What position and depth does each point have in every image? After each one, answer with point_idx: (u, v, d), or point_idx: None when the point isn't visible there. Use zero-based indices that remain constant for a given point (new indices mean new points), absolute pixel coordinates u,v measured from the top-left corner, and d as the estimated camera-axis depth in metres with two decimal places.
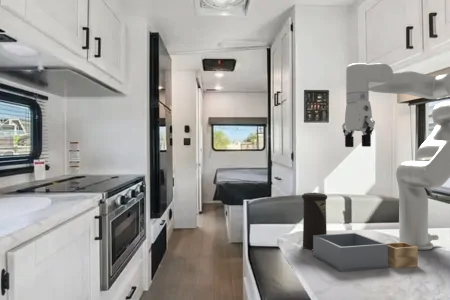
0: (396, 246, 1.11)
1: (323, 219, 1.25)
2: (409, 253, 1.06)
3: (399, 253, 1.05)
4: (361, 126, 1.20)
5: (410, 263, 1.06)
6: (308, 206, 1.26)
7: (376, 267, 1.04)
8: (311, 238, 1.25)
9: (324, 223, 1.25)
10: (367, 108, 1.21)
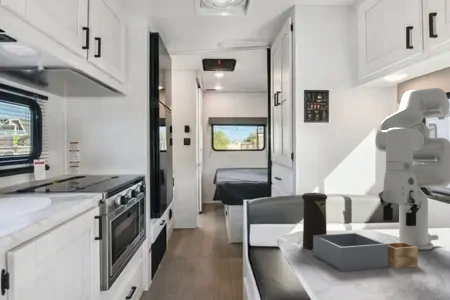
0: (396, 246, 1.11)
1: (323, 219, 1.25)
2: (409, 253, 1.06)
3: (399, 253, 1.05)
4: (405, 202, 1.04)
5: (410, 263, 1.06)
6: (308, 206, 1.26)
7: (376, 267, 1.04)
8: (311, 238, 1.25)
9: (324, 223, 1.25)
10: (412, 181, 1.05)
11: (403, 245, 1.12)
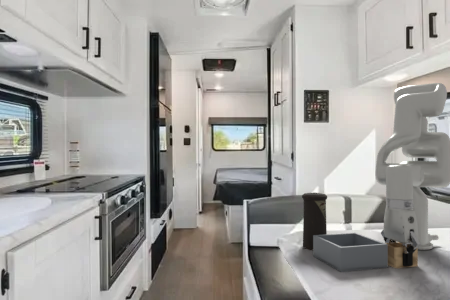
0: (396, 246, 1.11)
1: (323, 219, 1.25)
2: None
3: (399, 252, 1.05)
4: (406, 241, 1.04)
5: None
6: (308, 206, 1.26)
7: (376, 267, 1.04)
8: (311, 238, 1.25)
9: (324, 223, 1.25)
10: (412, 219, 1.05)
11: None
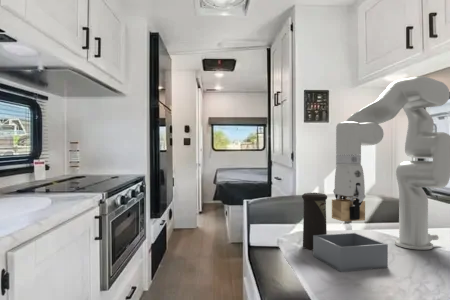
0: None
1: (323, 219, 1.25)
2: None
3: (346, 206, 1.08)
4: (352, 194, 1.06)
5: None
6: (308, 206, 1.26)
7: (376, 267, 1.04)
8: (311, 238, 1.25)
9: (324, 223, 1.25)
10: (359, 173, 1.08)
11: None
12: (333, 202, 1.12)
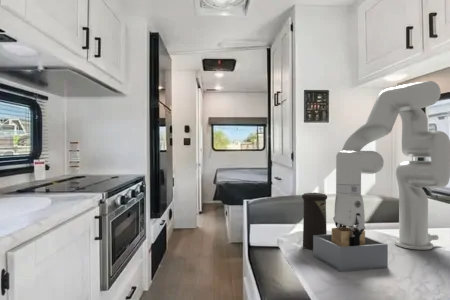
0: (346, 231, 1.14)
1: (323, 219, 1.25)
2: None
3: (346, 236, 1.08)
4: (352, 225, 1.06)
5: None
6: (308, 206, 1.26)
7: (376, 267, 1.04)
8: (311, 238, 1.25)
9: (324, 223, 1.25)
10: (359, 203, 1.07)
11: None
12: (333, 231, 1.12)
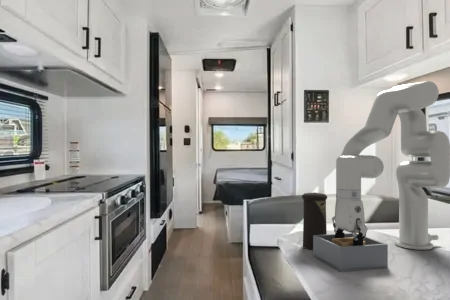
0: (346, 241, 1.14)
1: (323, 219, 1.25)
2: None
3: None
4: (352, 230, 1.06)
5: None
6: (308, 206, 1.26)
7: (376, 267, 1.04)
8: (311, 238, 1.25)
9: (324, 223, 1.25)
10: (359, 208, 1.08)
11: None
12: (333, 242, 1.12)
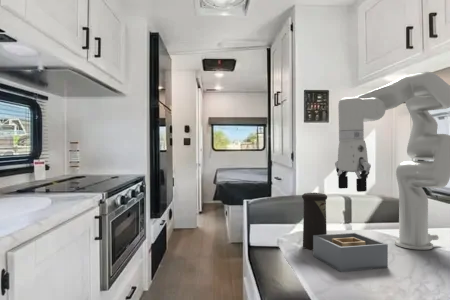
0: (346, 241, 1.14)
1: (323, 219, 1.25)
2: None
3: None
4: (355, 169, 1.08)
5: None
6: (308, 206, 1.26)
7: (376, 267, 1.04)
8: (311, 238, 1.25)
9: (324, 223, 1.25)
10: (362, 148, 1.09)
11: (353, 240, 1.14)
12: (333, 242, 1.12)
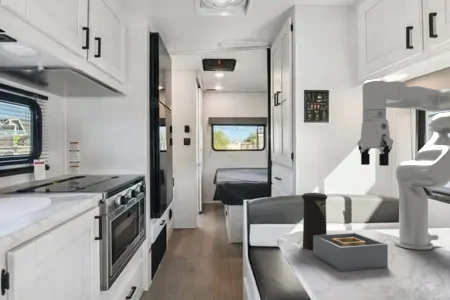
0: (346, 241, 1.14)
1: (323, 219, 1.25)
2: None
3: None
4: (379, 145, 1.17)
5: None
6: (308, 206, 1.26)
7: (376, 267, 1.04)
8: (311, 238, 1.25)
9: (324, 223, 1.25)
10: (385, 126, 1.18)
11: (353, 240, 1.14)
12: (333, 242, 1.12)
